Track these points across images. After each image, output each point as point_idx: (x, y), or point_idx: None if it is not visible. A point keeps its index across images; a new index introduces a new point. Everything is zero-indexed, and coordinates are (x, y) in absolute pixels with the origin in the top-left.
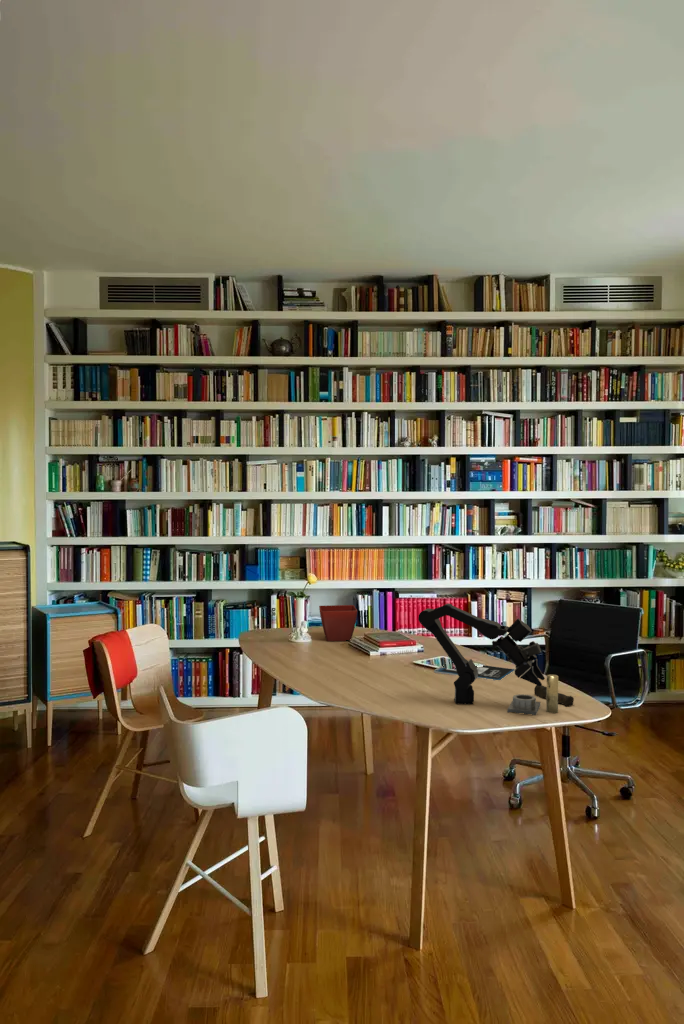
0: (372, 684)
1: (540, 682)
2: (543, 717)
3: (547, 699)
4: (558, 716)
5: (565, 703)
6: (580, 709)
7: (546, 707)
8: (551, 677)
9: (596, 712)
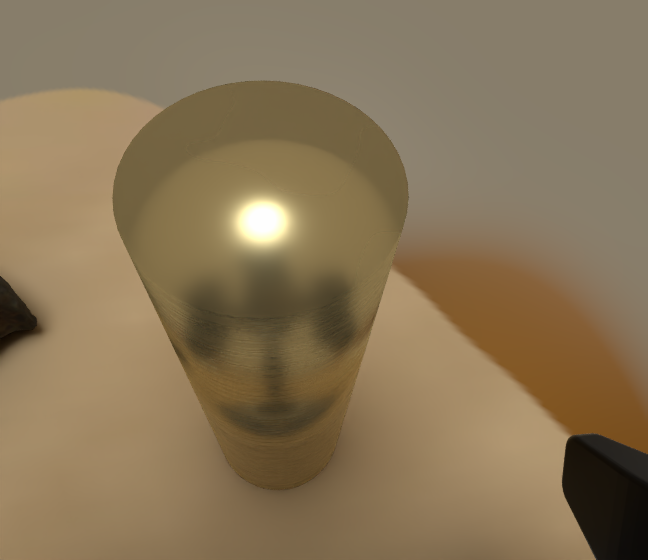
0: None
1: (639, 451)
2: (535, 471)
3: (328, 437)
4: (416, 344)
5: (26, 321)
6: (102, 212)
7: (299, 477)
8: (405, 192)
9: (155, 112)
